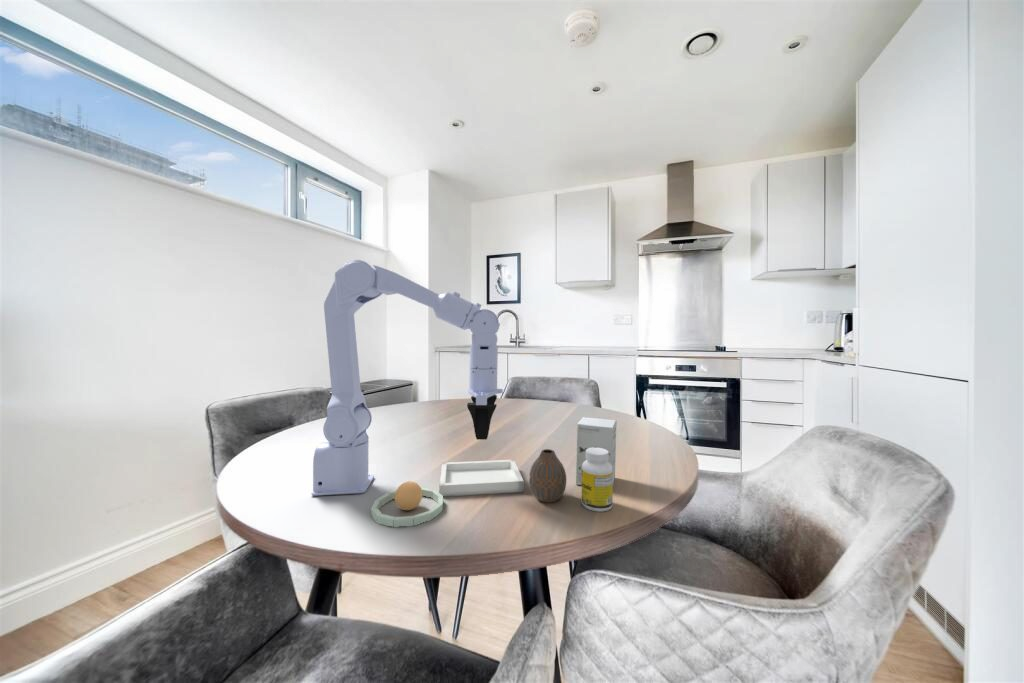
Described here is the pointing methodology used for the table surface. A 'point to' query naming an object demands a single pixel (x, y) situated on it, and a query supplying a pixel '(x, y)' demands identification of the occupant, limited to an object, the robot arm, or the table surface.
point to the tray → (480, 478)
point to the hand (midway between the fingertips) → (482, 433)
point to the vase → (547, 477)
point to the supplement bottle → (597, 480)
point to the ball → (408, 495)
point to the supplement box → (595, 441)
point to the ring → (406, 520)
